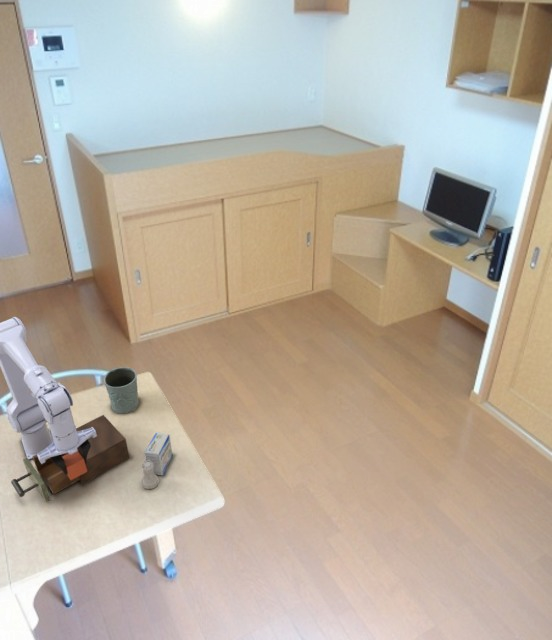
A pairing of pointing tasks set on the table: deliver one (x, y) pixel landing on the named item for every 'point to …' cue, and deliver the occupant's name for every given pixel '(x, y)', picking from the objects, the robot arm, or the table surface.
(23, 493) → the drawer
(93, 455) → the cabinet
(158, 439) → the medicine box
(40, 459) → the robot arm
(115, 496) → the table surface
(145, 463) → the rook chess piece
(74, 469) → the block
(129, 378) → the grey-green pot
